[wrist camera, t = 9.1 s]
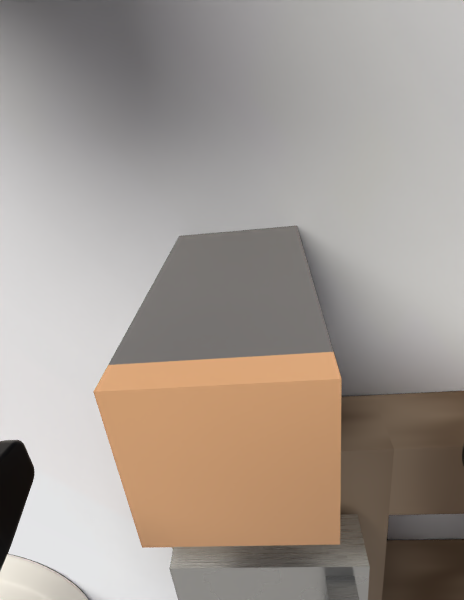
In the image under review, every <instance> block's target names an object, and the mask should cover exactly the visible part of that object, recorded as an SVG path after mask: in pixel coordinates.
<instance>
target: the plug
mask: <svg viewBox="0 0 464 600" xmlns="http://www.w3.org/2000/svg"><path fill="white" fill-rule="evenodd" d="M94 395H95V398H96V401H97V405H98V408H99V411H100V414H101V417H102V421H103V424H104V427H105V430H106V433H107V437H108V440H109V443H110V446H111V449H112V453H113V456H114V459H115V462H116V465H117V469H118V472H119V475H120V478H121V481H122V484H123V488H124V491H125V494H126V497H127V500H128V504H129V507H130V510H131V513H132V516H133V520H134V523H135V526H136V529H137V532H138V536H139V539H140V542H141V545H142V547H206V546H273V545H340V504H341V376H340V372H339V369H338V365H337V362H336V358H335V355H334V352H333V348H332V345H331V341H330V338H329V334H328V331H327V328H326V324H325V321H324V317H323V314H322V310H321V307H320V304H319V300H318V297H317V293H316V290H315V286H314V283H313V280H312V276H311V273H310V269H309V266H308V262H307V259H306V255H305V252H304V249H303V245H302V242H301V238H300V235H299V231H298V228H297V226H288V227H277V228H266V229H254V230H243V231H232V232H220V233H209V234H198V235H186V236H179V238H178V239H177V241H176V243H175V245H174V247H173V248H172V250H171V252H170V254H169V256H168V258H167V259H166V261H165V263H164V265H163V267H162V268H161V270H160V272H159V274H158V276H157V277H156V279H155V281H154V283H153V285H152V287H151V288H150V290H149V292H148V294H147V296H146V297H145V299H144V301H143V303H142V305H141V307H140V308H139V310H138V312H137V314H136V316H135V317H134V319H133V321H132V323H131V325H130V327H129V328H128V330H127V332H126V334H125V336H124V337H123V339H122V341H121V343H120V345H119V347H118V348H117V350H116V352H115V354H114V356H113V357H112V359H111V361H110V363H109V365H108V367H107V368H106V370H105V372H104V374H103V376H102V377H101V379H100V381H99V383H98V385H97V387H96V388H95V390H94Z"/></svg>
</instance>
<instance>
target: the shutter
mask: <svg viewBox="0 0 464 600" xmlns="http://www.w3.org/2000/svg"><path fill="white" fill-rule="evenodd" d="M369 570H370V566H369V562H368V557H367V553H366V549H365V545H364V540H363V536H362V532H361V528H360V523H359V519H358V515H357V514H340V545H273V546H206V547H173V553H172V558H171V564H170V572H171V575H172V579H173V583H174V586H175V590H176V593H177V597H178V600H368V587H369Z"/></svg>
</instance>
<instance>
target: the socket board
mask: <svg viewBox="0 0 464 600" xmlns="http://www.w3.org/2000/svg"><path fill="white" fill-rule="evenodd" d="M463 444H464V391H450V392H429V393H408V394H388V395H367V396H346V397H341V504H340V514H357V515H358V519H359V523H360V528H361V532H362V536H363V540H364V545H365V549H366V553H367V557H368V562H369V566H370V570H369V587H368V600H464V539H451V540H387V530H388V518H389V515H419V514H464V467H463V463H462V450H463ZM172 548H173V547H172Z"/></svg>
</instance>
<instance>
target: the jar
mask: <svg viewBox="0 0 464 600" xmlns="http://www.w3.org/2000/svg"><path fill="white" fill-rule="evenodd" d="M0 600H88V598H87V597H86V596H85V594H84V593H83V592H82V591H81V590H80V589H79V588H78V587H77V586H76V585H74V584H73V583H72V582H71V581H69V580H68V579H67V578H65V577H64V576H62V575H60V574H59V573H57V572H55V571H53V570H52V569H50V568H48V567H45V566H43V565H41V564H39V563H36V562H33V561H31V560H28V559H25V558H21V557H18V556H14V555H9V554H7V557H6V559H5V561H4V564H3V566H2V568H1V571H0Z"/></svg>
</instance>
